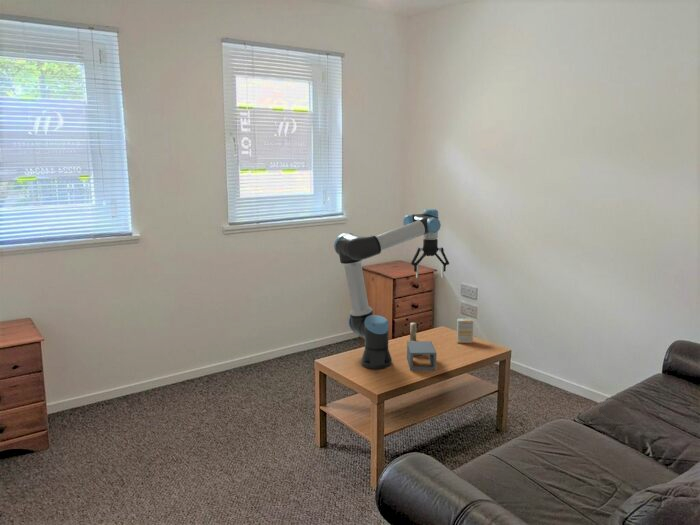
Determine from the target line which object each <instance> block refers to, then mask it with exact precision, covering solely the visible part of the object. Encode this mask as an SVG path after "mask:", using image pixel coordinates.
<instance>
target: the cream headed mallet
mask: <svg viewBox="0 0 700 525" xmlns="http://www.w3.org/2000/svg"><path fill="white" fill-rule="evenodd" d="M409 327H410V328H409V329H410V330H409V331H410V332H409V334H410V336H409V338H410V339H409V341H417V327H418V326H417V322H410V324H409ZM413 357H424V355H413Z"/></svg>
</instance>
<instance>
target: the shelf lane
mask: <svg viewBox="0 0 700 525" xmlns="http://www.w3.org/2000/svg"><path fill="white" fill-rule="evenodd" d="M413 355H423V356H424V355H425V356H428V360H429V362H430V366H414V356H413ZM406 360H407V363H408V368H409V370H410V371H411V372H413V371H437V351H436V347H435V345H434V344H433V342H432V341H431V340H430V341H429V340H425V341H423V340H418V341H417V340H416V341H410V340H407V341H406Z"/></svg>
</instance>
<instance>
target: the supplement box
mask: <svg viewBox="0 0 700 525" xmlns="http://www.w3.org/2000/svg"><path fill="white" fill-rule="evenodd" d="M456 323H457V324H456V342H457V344H470V345H471V344H472V345H473V343H474V342H473V341H474V340H473V339H474V338H473V335H474V320H473V318H467V317H466V318H461V317H460V318H459V317H458V318H457V321H456Z"/></svg>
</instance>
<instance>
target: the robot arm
mask: <svg viewBox="0 0 700 525" xmlns="http://www.w3.org/2000/svg"><path fill="white" fill-rule="evenodd" d="M402 222H403V223H402V224H403V225H402V226H399V227H397V228H394V229H391V230H388V231H385V232H383V233H380V234H378V235H375V234H372V235H369V236H361V235H360V236H359V235H355V234H353V233H349V232H343V233H341V234H339V235H338V236H337V237H336V238H335V240H334V245H333V247H334V251H335V253H336V254H337V255H338V256H339V262H340V264H342V265H343V266H344V272H345V277H346V282H347V288H348V294H349V299H350V306H351V310H350V311H349V317H348V320H347V321H348V323H347V324H348V327H349V329H350V330H351V331H352V332H353V333H354V334H356V335H358V336H360V337H361V338H362V339H364V350H363V353H362V356H361V358H360V359H361V365H362V367H365V369H370V370H383V369H388V368H389V367H392V364H393V359H392V356H391V352H390V350H389V329H390V326H389V321H388V319H387V318H386V317H384V316H382V315H377V314H374V312H373V308H372V307H371V306H370V305H369V300H368V296H367V289H366V283H365V278H364V272H363V267H362V262H363V261H364V260H367V259H369V258H372V257H375V256H377V255H380V254H381V253H382V252H383V251H385V250H387V249H390V248H393V247H395V246H397V245H401V244H403V243H405V242H407V241H411V240H413V239H415V238H419V237H421V236H422V237H423V239H422V240H423V244H422V245H423V246H422V247H419V246H418V247H417V248H416V252H415V254H414V256H413V258H412V260H411V262H410V264H411V266H414V267H413V271H414V272H415V278H416V279H418V278H419V264H420V263H421V261H422V260H423V259H424V258H425V257H426V256H427V257H434V256H435V257H436V258H437V259H438V260H439V261H440V263H441V268H440V269H441V272H440V274H441V275H440V277H441V278H442V279H444V272H446V271H447V270H446V268H447V267H446V266H447V265H450V262H449V260H448V258H447V256H446V254H445V249H444V247H443V246H441V247H438V243H439V240H438V238H439V231H440V230H441V221H440V220H439V211H438V210H437V209H435V208H434V209H433V208H428V209H427V208H425V209H424V210H423V213H417V214H415V213H414V214H413V213H412V214H406V215H405V216H403V220H402ZM420 252H423V253H422V254H421V255H420ZM438 252H440V253H441V255H442V257H443V259H442V258H441V257H440V256H439V254H438ZM419 255H420V256H419ZM418 256H419V258H418Z"/></svg>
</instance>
